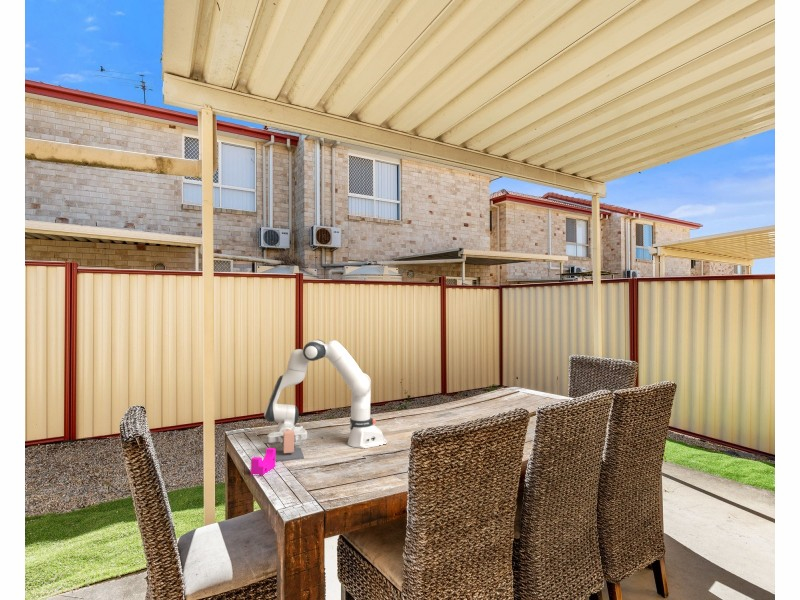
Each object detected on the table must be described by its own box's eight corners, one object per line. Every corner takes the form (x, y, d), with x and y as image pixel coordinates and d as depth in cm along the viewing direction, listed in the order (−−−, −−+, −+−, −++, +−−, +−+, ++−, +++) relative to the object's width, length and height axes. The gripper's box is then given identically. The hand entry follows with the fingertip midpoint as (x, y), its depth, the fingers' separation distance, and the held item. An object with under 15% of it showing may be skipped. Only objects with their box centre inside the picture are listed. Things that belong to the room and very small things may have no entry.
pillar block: (292, 448, 207) (293, 429, 207) (293, 452, 202) (294, 432, 203) (283, 450, 205) (283, 430, 206) (283, 453, 201) (284, 433, 201)
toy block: (263, 476, 178) (263, 460, 178) (250, 475, 179) (251, 458, 179) (279, 464, 193) (280, 448, 193) (268, 463, 194) (268, 447, 194)
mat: (300, 449, 213) (300, 447, 213) (303, 458, 200) (303, 457, 200) (273, 452, 208) (273, 450, 208) (275, 462, 195) (275, 460, 195)
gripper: (266, 429, 212) (267, 436, 200) (305, 425, 220) (308, 432, 207) (266, 440, 212) (267, 449, 199) (305, 436, 220) (308, 444, 207)
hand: (288, 440), depth 203 cm, fingers closed on pillar block, 5 cm apart
